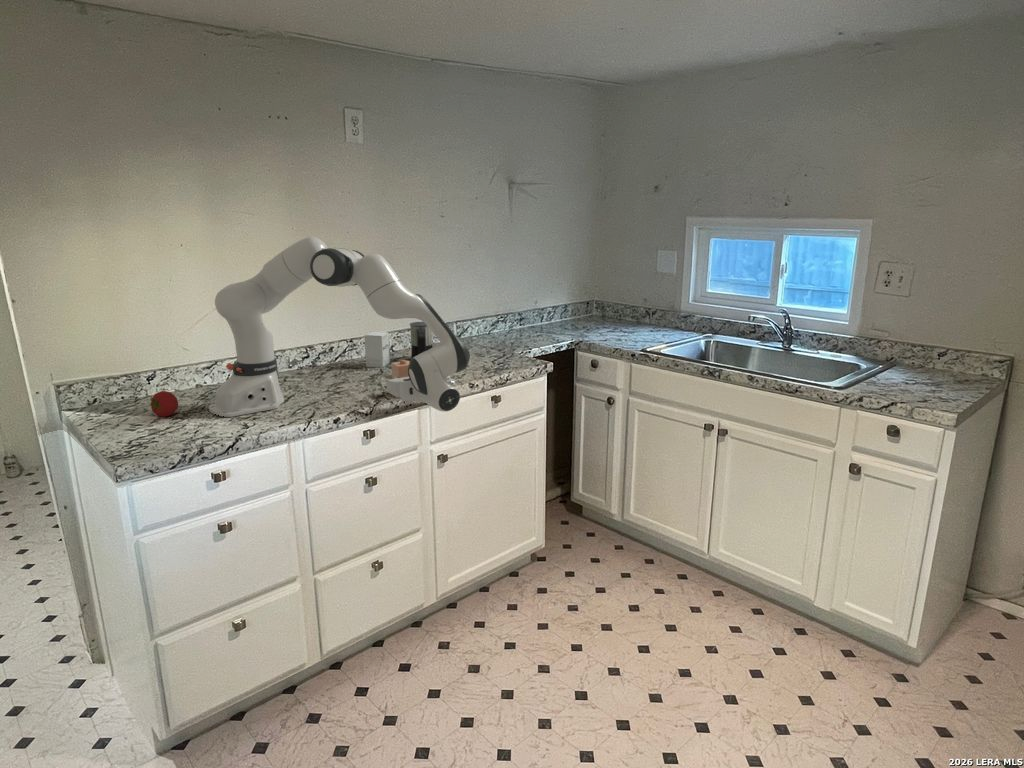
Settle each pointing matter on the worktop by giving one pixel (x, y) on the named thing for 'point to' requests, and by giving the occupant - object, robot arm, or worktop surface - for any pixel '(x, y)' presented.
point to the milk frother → (420, 338)
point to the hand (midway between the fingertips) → (409, 377)
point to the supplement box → (377, 349)
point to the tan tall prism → (400, 369)
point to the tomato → (164, 404)
